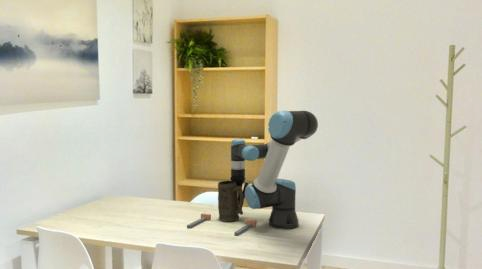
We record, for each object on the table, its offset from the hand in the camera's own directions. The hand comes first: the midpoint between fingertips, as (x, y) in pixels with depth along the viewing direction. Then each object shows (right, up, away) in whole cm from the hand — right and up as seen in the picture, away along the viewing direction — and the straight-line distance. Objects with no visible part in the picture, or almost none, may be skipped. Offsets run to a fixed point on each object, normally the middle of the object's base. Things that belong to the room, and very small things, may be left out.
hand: (237, 211), depth 239 cm
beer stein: (-3, -4, -5) cm, 7 cm away
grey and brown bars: (-9, -5, -19) cm, 21 cm away
